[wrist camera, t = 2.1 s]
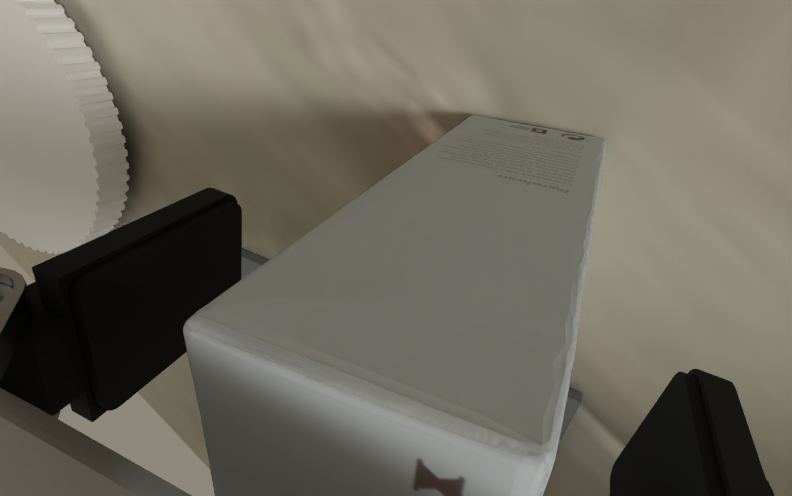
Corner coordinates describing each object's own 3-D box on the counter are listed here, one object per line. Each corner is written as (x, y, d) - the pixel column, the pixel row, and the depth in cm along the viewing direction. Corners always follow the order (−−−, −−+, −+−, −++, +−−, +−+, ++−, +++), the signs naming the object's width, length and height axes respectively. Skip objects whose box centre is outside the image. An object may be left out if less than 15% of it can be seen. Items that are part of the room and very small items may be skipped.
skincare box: (468, 110, 15) (167, 305, 5) (610, 136, 13) (577, 468, 4) (442, 272, 18) (220, 593, 8) (556, 306, 16) (459, 742, 7)
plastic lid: (65, -96, 18) (-8, -110, 16) (185, 236, 23) (142, 258, 21) (-99, -18, 24) (-168, -20, 22) (27, 233, 29) (-18, 250, 27)
